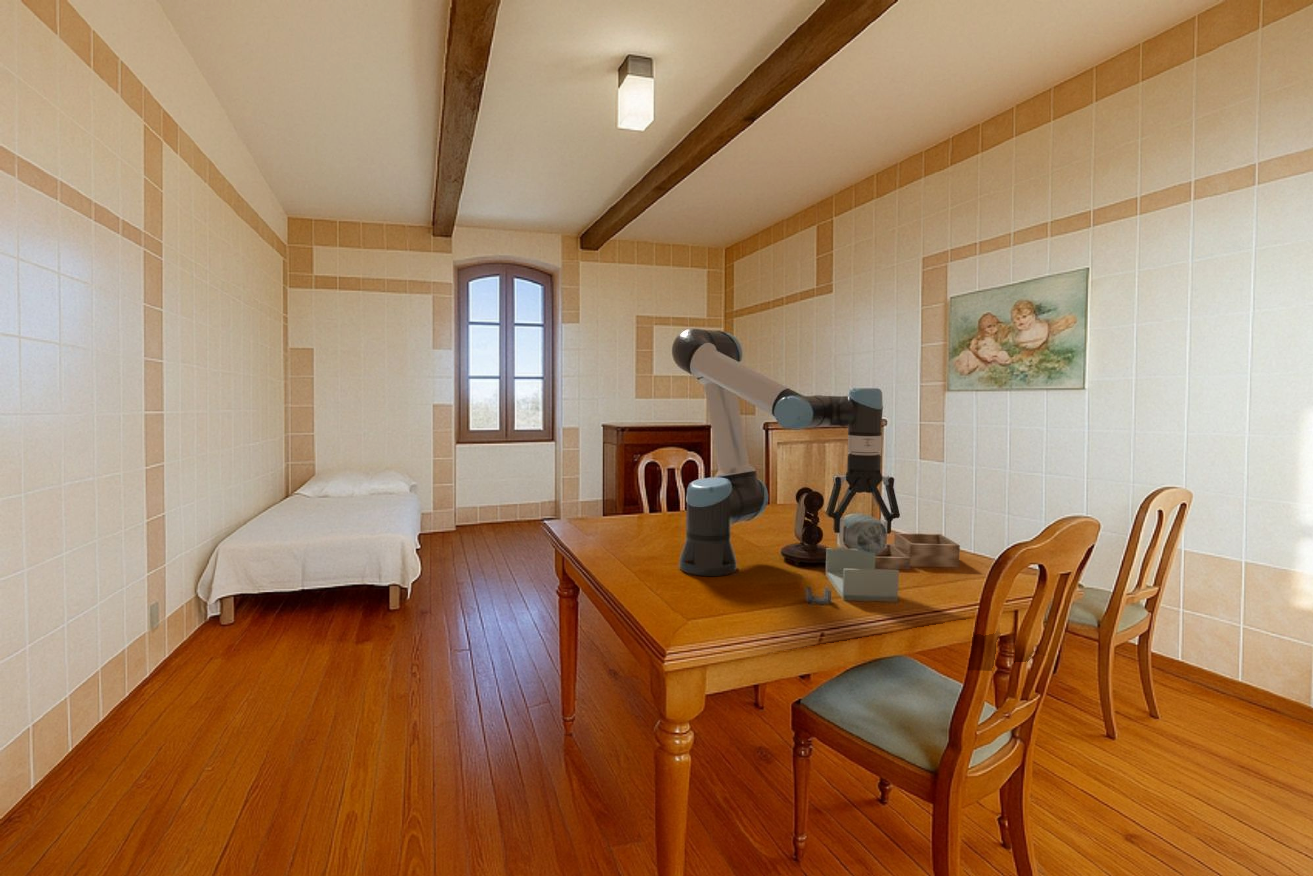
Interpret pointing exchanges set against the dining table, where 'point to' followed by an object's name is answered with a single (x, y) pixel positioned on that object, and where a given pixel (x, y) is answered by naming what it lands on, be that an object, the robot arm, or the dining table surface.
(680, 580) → the dining table surface
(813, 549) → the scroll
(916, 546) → the frame
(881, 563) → the frame
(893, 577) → the holder
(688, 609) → the dining table surface
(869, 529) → the grey oval rock
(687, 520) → the robot arm
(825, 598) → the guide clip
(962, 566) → the dining table surface
